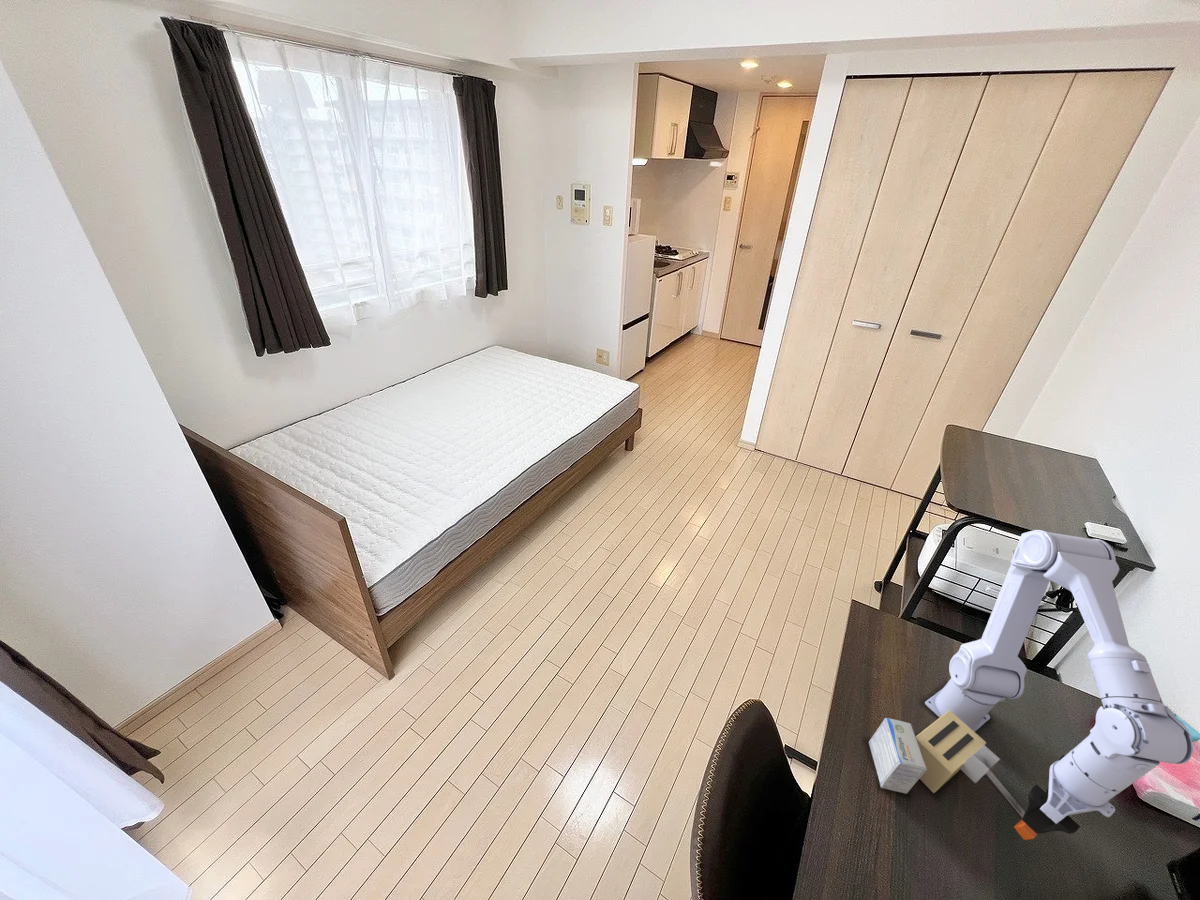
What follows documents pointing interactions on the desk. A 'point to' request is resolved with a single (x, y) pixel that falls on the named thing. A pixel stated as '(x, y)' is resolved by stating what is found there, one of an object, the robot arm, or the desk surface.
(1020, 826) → the lever
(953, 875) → the desk surface
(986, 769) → the toaster
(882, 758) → the medicine box
